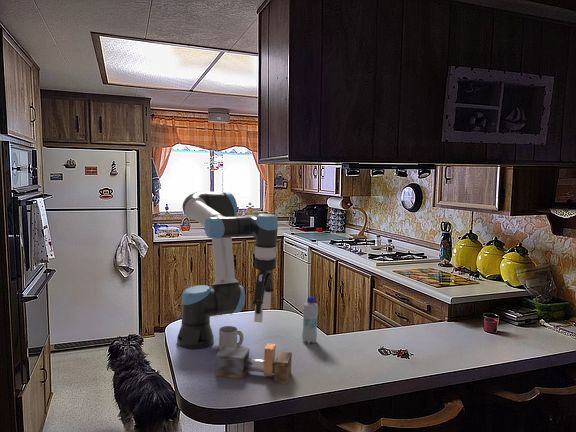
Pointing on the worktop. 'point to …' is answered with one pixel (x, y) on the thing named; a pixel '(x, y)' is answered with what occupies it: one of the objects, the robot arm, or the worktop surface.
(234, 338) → the cup
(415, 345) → the worktop surface
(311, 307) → the bottle
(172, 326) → the worktop surface
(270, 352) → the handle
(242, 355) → the sleeve and socket
